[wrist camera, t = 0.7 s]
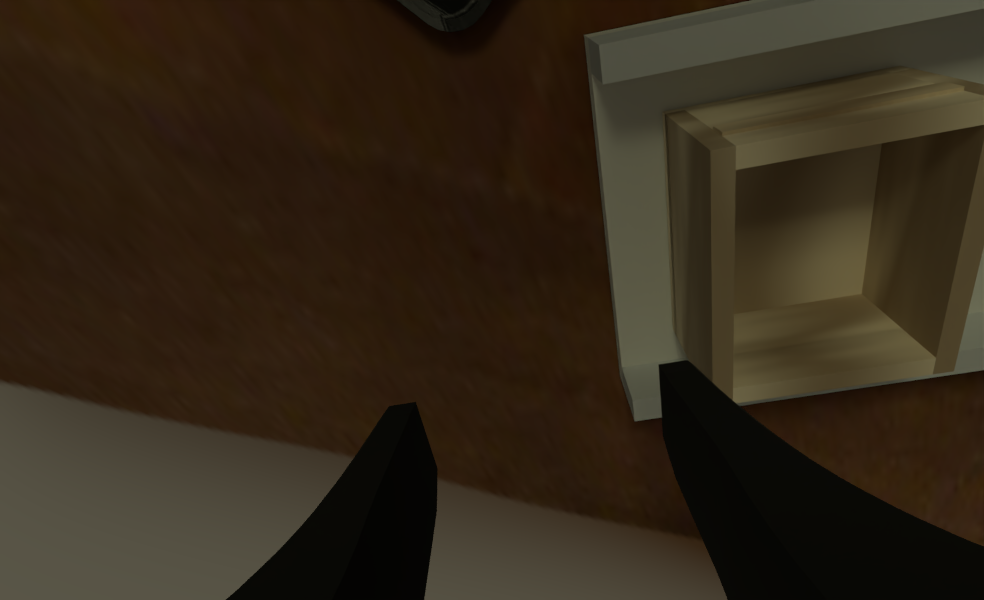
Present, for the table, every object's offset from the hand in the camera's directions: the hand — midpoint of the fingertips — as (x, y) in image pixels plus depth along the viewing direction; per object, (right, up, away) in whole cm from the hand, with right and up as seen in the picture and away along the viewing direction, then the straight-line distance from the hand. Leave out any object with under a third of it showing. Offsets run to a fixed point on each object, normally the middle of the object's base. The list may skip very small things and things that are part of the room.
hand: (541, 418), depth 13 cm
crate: (+8, +6, +7) cm, 12 cm away
